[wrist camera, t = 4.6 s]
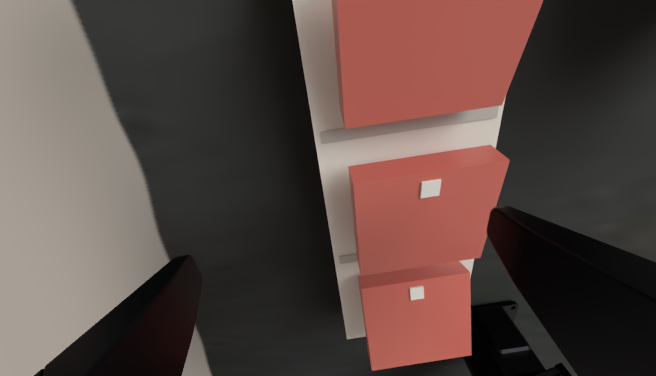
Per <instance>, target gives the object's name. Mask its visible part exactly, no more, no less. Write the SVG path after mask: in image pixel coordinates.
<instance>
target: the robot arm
mask: <svg viewBox="0 0 656 376" xmlns="http://www.w3.org/2000/svg"><path fill="white" fill-rule="evenodd" d="M487 235H488V238H489V239H490V241H491V243H492V245H493V247H494V249H495V250H496V252H497V254H498V256H499V258H500V260H501V261H502V263H503V265H504V267H505V269H506V270H507V272H508V274H509V276H510V277H511V279H512V281H513V282H514V284H515V285H516V287H517V289H518V290H519V291H520V293H521V294H522V296H523V297H524V299H525V300H526V302H527V303H528V304H529V306H530V307H531V309H532V310H533V312H534V313H535V315H536V316H537V317H538V319H539V320H540V322H541V323H542V325H543V326H544V328H545V329H546V330H547V332H548V333H549V335H550V336H551V338H552V339H553V341H554V342H555V343H556V345H557V346H558V348H559V349H560V351H561V352H562V354H563V355H564V357H565V358H566V359H567V361H568V362H569V364H570V365H571V367H572V368H573V370H574V371H575V372H576V374H577V375H578V376H656V262H653V261H651V260H648V259H645V258H643V257H640V256H638V255H635V254H632V253H630V252H627V251H624V250H622V249H619V248H617V247H614V246H611V245H609V244H606V243H604V242H601V241H598V240H596V239H593V238H590V237H588V236H585V235H583V234H580V233H577V232H575V231H572V230H570V229H567V228H564V227H562V226H559V225H556V224H554V223H551V222H549V221H546V220H543V219H541V218H538V217H536V216H533V215H530V214H528V213H525V212H522V211H520V210H517V209H515V208H512V207H509V206H500V207H494V208H492V210H491V211H490V216H489V220H488V225H487ZM201 284H202V276H201V273H200V271H199V269H198V267H197V265H196V263H195V261H194V259H193V258H192V257H191V256H190V255H184V256H178V257H175V258H174V259H172V260H171V261H170V262H169V263H168V264H167V265H165V266H164V267H163V268H162V269H160V270H159V271H158V272H157V273H156V274H154V275H153V276H152V277H151V278H150V279H149V280H147V281H146V282H145V283H144V284H143V285H141V286H140V287H139V288H138V289H137V290H135V291H134V292H133V293H132V294H131V295H130V296H129V297H127V298H126V299H125V300H123V301H122V302H121V303H120V304H119V305H118V306H117V307H115V308H114V309H113V310H112V311H110V312H109V313H108V314H107V315H106V316H105V317H103V318H102V319H101V320H100V321H99V322H98V323H96V324H95V325H94V326H93V327H91V328H90V329H89V330H88V331H87V332H85V334H83V335H82V336H81V337H79V338H78V339H77V340H76V341H75V342H73V343H72V344H71V345H70V346H69V347H68V348H66V349H65V350H64V351H63V352H62V353H61V354H59V355H58V356H57V357H56V358H54V359H53V360H52V361H51V362H50V363H49V364H47V365H46V366H45V369H42V370H40V371H39V372H38V373H37V374H35V375H34V376H181V375H182V371H183V368H184V364H185V361H186V357H187V353H188V350H189V346H190V343H191V339H192V335H193V331H194V326H195V320H196V314H197V308H198V302H199V296H200V290H201ZM517 310H518V305H517V303H516V302H515V301H508V302H502V303H496V304H489V305H483V306H476V307H471V348H472V355H470V356H464V357H463V359H464V361H465V363H466V365H467V367H468V369H469V371H470V373H471V375H472V376H571V374H570V373H569V372H568V371H567V369H566V368H565V367H564V365H563V364H562V363H559V364H557V365H555V367H553V368H550V369H548V370H546V369H545V368H544V366H543V365H542V363H541V362H540V360H539V359H538V358H537V356H536V355H535V353H534V352H533V350H532V349H531V347H530V345H529V344H528V342H527V341H526V339H525V338H524V337H523V335H522V334H521V332H520V331H519V330H518V328H517V327H516V325H515V324H514V322H513V321H514V318H515V316H516V313H517Z"/></svg>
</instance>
